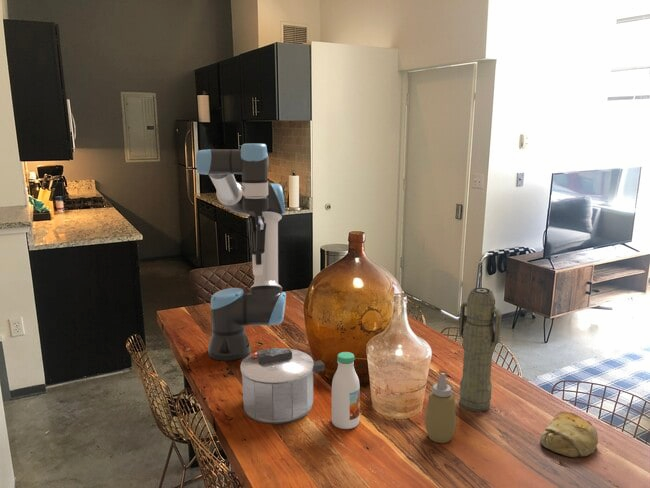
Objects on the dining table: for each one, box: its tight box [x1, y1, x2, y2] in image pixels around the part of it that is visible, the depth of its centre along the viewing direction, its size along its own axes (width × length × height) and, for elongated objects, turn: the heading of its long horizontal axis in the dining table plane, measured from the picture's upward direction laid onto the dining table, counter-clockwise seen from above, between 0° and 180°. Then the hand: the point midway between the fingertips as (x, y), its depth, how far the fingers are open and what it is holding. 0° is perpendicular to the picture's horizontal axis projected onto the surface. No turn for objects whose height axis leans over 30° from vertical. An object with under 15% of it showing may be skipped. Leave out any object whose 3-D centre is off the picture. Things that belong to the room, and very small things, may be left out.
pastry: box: [539, 411, 599, 458], centre depth 132 cm, size 14×12×8 cm
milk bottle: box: [331, 351, 361, 430], centre depth 141 cm, size 8×8×20 cm
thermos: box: [458, 287, 503, 412], centre depth 149 cm, size 9×12×35 cm
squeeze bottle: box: [424, 372, 457, 444], centre depth 134 cm, size 8×8×18 cm
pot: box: [241, 360, 326, 425], centre depth 152 cm, size 24×20×12 cm
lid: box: [240, 347, 314, 384], centre depth 149 cm, size 22×21×3 cm
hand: (257, 274), depth 157 cm, fingers closed
